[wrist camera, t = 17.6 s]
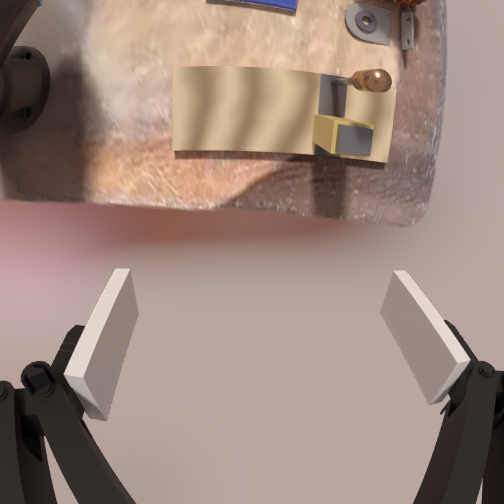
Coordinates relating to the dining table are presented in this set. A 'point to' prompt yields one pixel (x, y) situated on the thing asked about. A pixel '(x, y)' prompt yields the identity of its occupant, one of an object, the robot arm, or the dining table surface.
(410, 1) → the dragon fruit
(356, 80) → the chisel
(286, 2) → the hard drive
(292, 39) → the dining table surface
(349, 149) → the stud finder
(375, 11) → the bracket
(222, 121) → the plank
